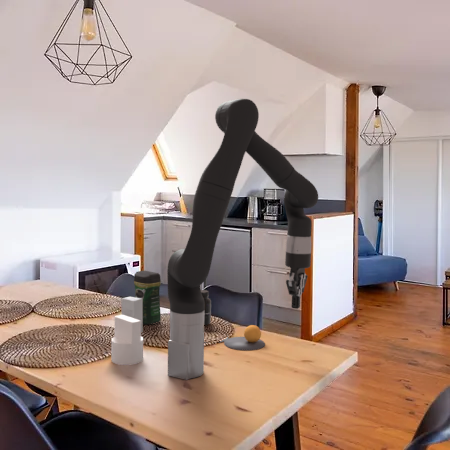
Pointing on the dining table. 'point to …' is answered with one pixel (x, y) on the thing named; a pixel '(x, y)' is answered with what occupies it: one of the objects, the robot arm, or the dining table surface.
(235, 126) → the robot arm
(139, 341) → the cylinder with rectangular tab
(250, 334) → the ball
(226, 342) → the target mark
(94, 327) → the dining table surface
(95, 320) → the dining table surface
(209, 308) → the supplement bottle
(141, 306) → the skincare box
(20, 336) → the dining table surface
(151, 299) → the coffee jar
